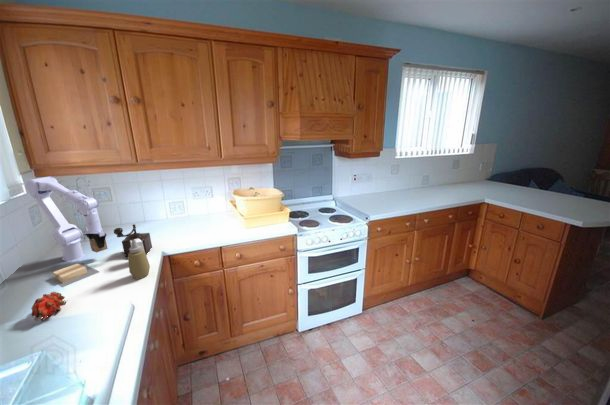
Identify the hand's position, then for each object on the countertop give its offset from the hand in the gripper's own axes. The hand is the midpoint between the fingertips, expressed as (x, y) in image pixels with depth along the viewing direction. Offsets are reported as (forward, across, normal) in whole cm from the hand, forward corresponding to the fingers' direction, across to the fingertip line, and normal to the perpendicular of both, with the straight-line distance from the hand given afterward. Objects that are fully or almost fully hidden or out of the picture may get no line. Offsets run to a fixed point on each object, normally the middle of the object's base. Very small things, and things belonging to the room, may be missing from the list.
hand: (98, 246), depth 133 cm
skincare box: (+8, +21, +8) cm, 24 cm away
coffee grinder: (+8, +10, +12) cm, 18 cm away
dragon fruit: (+8, +31, -30) cm, 44 cm away
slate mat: (+8, +5, -14) cm, 17 cm away
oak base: (+7, +6, -15) cm, 18 cm away
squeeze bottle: (+8, +34, +1) cm, 35 cm away
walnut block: (+2, 0, 0) cm, 2 cm away
